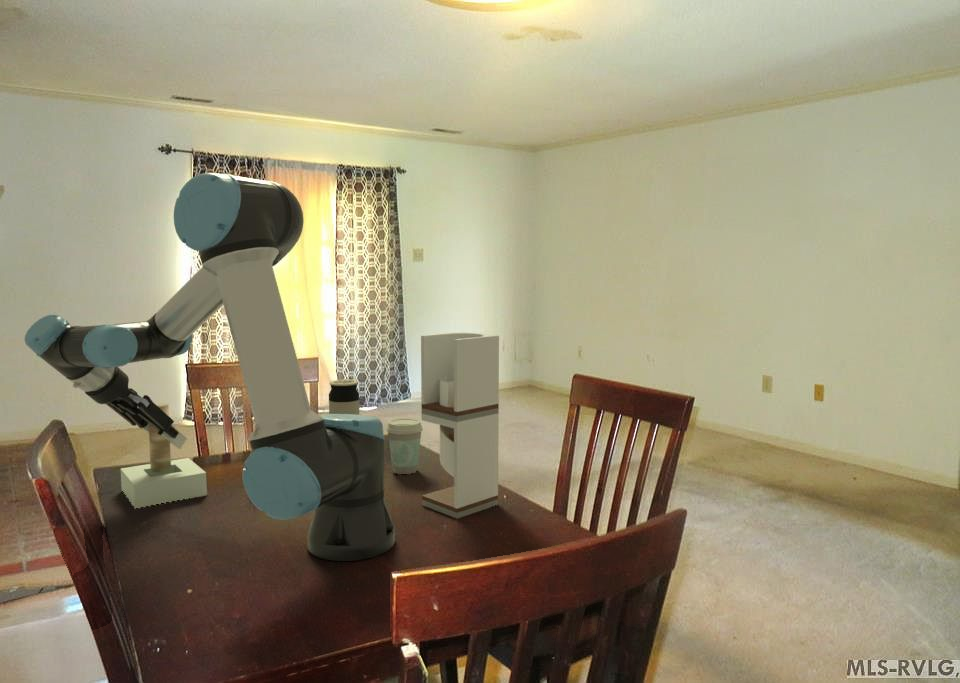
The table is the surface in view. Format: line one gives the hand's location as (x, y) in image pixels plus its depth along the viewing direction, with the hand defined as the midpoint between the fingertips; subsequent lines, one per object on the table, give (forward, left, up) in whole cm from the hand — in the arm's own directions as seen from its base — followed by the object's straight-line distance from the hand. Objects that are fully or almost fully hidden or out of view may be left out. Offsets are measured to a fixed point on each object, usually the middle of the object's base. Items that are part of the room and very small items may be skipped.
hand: (175, 441), depth 152 cm
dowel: (-2, +4, -5) cm, 6 cm away
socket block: (-2, +3, -10) cm, 11 cm away
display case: (-46, -44, -11) cm, 64 cm away
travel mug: (+9, -45, -11) cm, 47 cm away
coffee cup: (-19, -47, -11) cm, 52 cm away
